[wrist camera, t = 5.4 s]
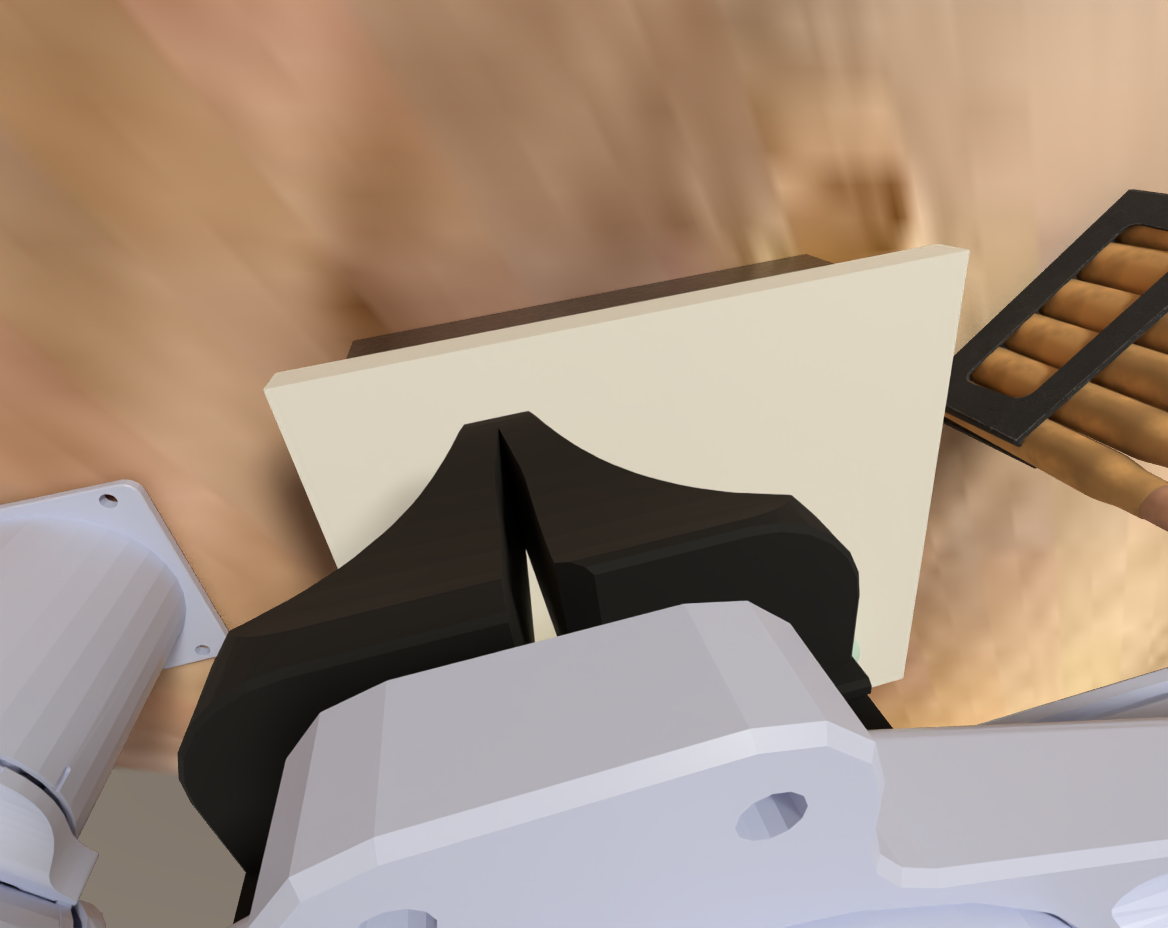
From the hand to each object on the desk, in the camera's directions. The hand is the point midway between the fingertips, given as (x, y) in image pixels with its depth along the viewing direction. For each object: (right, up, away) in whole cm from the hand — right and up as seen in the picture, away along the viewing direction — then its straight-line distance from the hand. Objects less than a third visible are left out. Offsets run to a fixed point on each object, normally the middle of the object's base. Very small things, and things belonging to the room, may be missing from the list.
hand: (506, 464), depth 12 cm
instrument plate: (+4, -3, +8) cm, 9 cm away
